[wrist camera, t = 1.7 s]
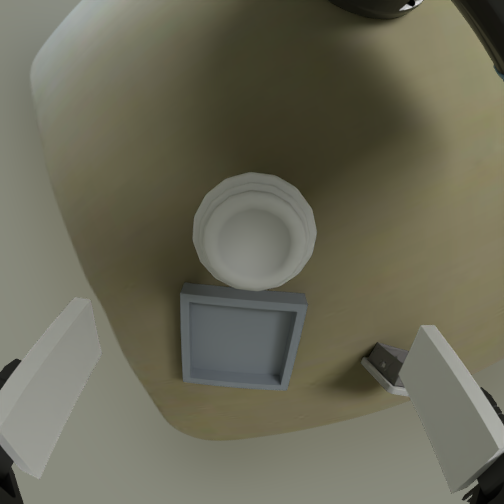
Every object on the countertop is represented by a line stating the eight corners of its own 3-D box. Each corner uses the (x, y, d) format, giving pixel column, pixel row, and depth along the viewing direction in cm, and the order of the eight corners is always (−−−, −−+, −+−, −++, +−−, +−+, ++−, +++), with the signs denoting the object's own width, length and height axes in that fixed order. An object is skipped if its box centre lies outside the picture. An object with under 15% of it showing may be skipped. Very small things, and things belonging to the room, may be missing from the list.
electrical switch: (357, 360, 40) (380, 403, 31) (376, 330, 39) (404, 371, 30) (403, 370, 42) (428, 408, 33) (421, 344, 40) (451, 380, 31)
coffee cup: (310, 176, 31) (342, 204, 20) (280, 254, 34) (292, 316, 23) (225, 147, 30) (208, 158, 19) (199, 229, 33) (174, 282, 22)
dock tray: (184, 282, 35) (180, 293, 33) (304, 293, 36) (307, 304, 34) (186, 369, 41) (183, 381, 38) (285, 377, 41) (286, 390, 39)
